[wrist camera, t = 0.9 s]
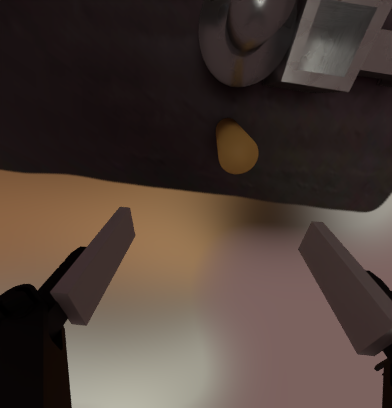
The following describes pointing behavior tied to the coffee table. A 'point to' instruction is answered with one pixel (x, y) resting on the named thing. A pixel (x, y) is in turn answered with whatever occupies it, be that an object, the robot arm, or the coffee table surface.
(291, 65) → the rosette bracket
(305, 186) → the coffee table surface
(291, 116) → the coffee table surface
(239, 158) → the tapered pin
